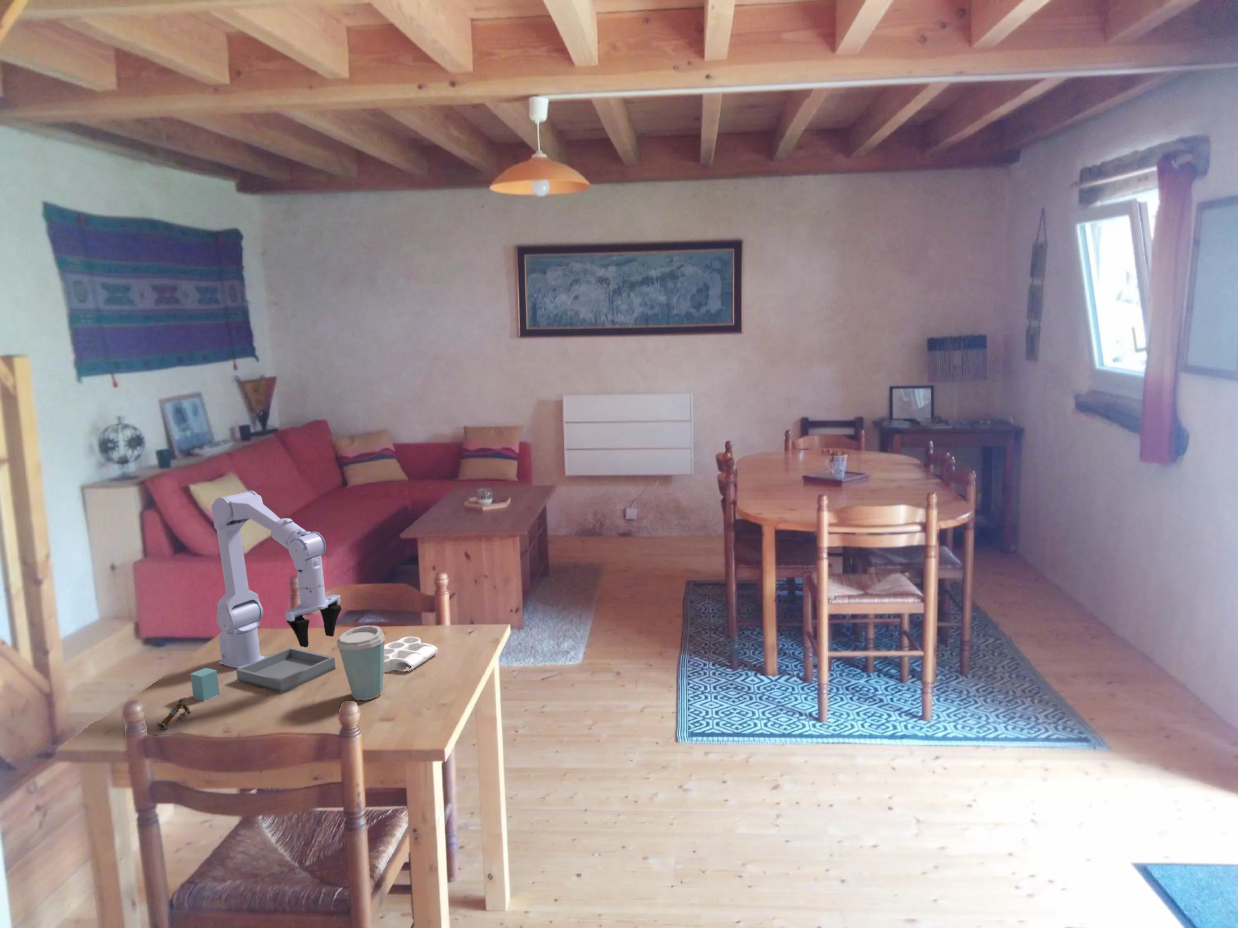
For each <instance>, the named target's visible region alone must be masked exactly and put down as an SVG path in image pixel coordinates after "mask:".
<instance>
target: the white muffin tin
mask: <svg viewBox="0 0 1238 928" xmlns="http://www.w3.org/2000/svg"><path fill="white" fill-rule="evenodd" d="M437 654H439V649H438V647H436V646H435V645H433V644H430V643H427V642H426V643H425V642H422V641H421V638H420V637H417V636H405V637H401V638H400V639H398V640H395V641H392V642H388V643H386V644H385V643H384V667H383V674H386V673H385V672H387V673H389V672H388V671H390V672H394V671H393V670H399V671H398V672H402V670H404V669H406V667H409V666H411V667H410V668H411V670H409V671H408V672H407V673H409V672H411V671H412V670H415V668H416V667H418V666H420V665H421V664H423V663H425V662H426V661H428V660H429V659H430V658H433V657H434V656H436V655H437Z"/></svg>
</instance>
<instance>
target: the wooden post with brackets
mask: <svg viewBox="0 0 1238 928" xmlns="http://www.w3.org/2000/svg"><path fill="white" fill-rule="evenodd" d="M186 702H187V697H181V698H180V699H179V700H178V702H177V704H176V705H175V707H172V709H171V711H170V712H169V713H168V715H167V716H166V717H165V718H164V719H163V720H162V721H160V722H156V725H157V727H158V728H159V730H162V729H163V730H166V731H167V730H168V727H167V726H168V725H169V723H170V722H171V720H172V719H173V718H175V716H176V715H177V714H178V713H179V712H180V711H179V710H180V709H182V710H184V711H183V712H181V713H179V715H178V716H176V718H177V720H176V721H177V722H180V721H183V720H184V719H185V718H186V715H187V714H188V715H190V714H191V713H192V712H191V708H189V707H188V706H187V704H186Z"/></svg>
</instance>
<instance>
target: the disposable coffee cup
mask: <svg viewBox="0 0 1238 928" xmlns="http://www.w3.org/2000/svg"><path fill="white" fill-rule="evenodd" d="M385 641H386V635H385V634H384V632H383V630H382V629H381V627H380V626H377V625H361V626H357V627H354V628H350V629H348V630H347V631H345V632H343V633H341V634H340V636H339V637H338V639H337V640H336V646H337V648H338V650H339V653H340V657H341V660H342V661H341V662H342V663H343V667H344V671H345V676H346V679H347V681H348V682H347V683H348V686H349V689H350V691H351V695H352V697H353V699H354V700H355V699H358V700H357V701H359V700H363V701H369V699H370V700H374V699H376V698H379V697H380V696H381V695H382V691H383V689H384V673H383V667H384V645H385ZM380 694H381V695H380ZM379 695H380V696H379ZM375 697H376V698H375ZM373 698H374V699H373Z"/></svg>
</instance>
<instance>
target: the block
mask: <svg viewBox="0 0 1238 928" xmlns="http://www.w3.org/2000/svg"><path fill="white" fill-rule="evenodd" d="M217 671H218V670H216V669H212V668H208V667H204V668H201V669H198V670H197V671H194V672H192V673H190V680H191V689H192V696H193V697H194V698H196V699H195V700H197V699H199V700H198V701H201V700H203V701H202V702H206V701H205V700H207V701H208V699H209V700H211V699H212V698H211V697H214V696H216V695H219V694H221V693H220V687H219V685H220V684H219V678H218V672H217ZM219 696H220V695H219ZM216 697H217V696H216ZM194 698H193V699H194ZM210 698H211V699H210ZM214 698H215V697H214Z"/></svg>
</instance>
